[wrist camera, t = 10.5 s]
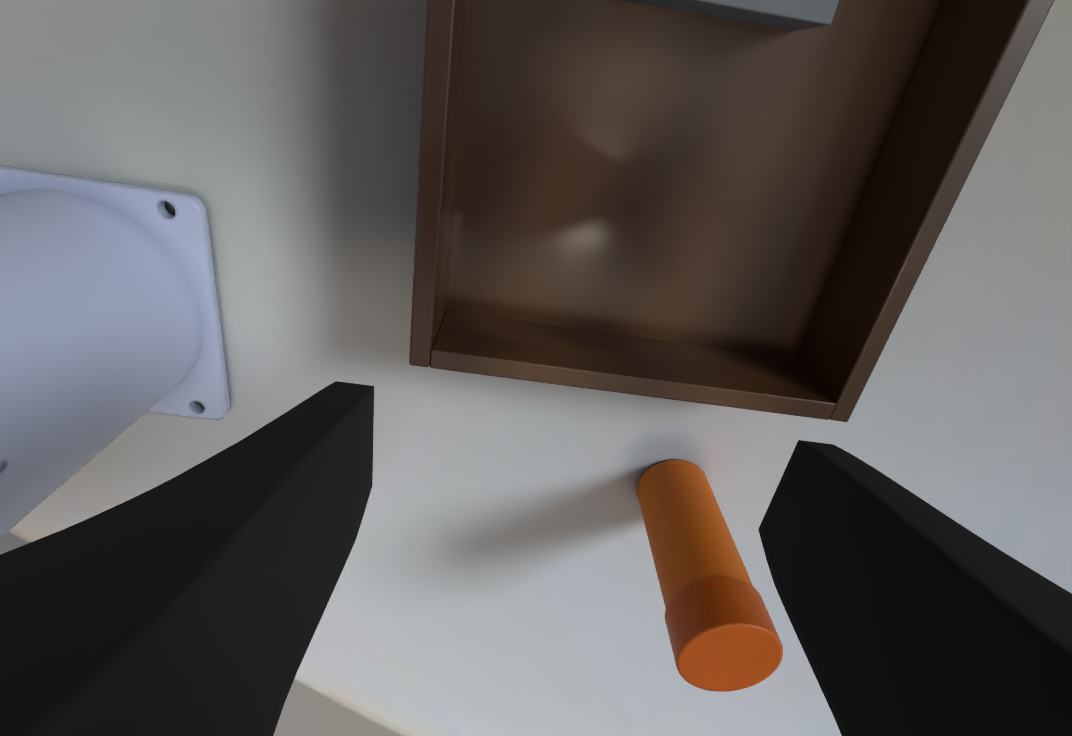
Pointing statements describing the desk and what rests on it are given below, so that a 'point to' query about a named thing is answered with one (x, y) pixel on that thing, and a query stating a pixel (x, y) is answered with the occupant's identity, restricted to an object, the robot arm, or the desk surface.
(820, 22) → the eraser
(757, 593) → the glue stick
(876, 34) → the box
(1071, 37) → the desk surface
